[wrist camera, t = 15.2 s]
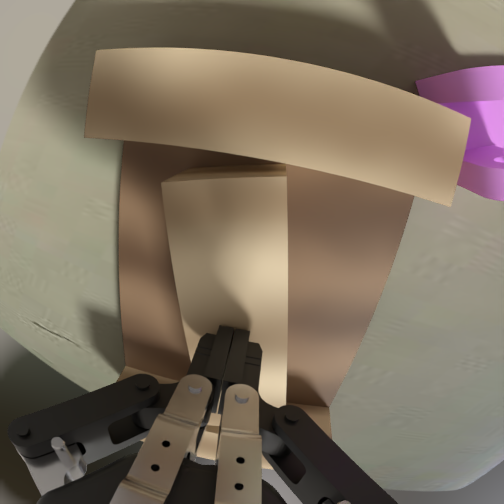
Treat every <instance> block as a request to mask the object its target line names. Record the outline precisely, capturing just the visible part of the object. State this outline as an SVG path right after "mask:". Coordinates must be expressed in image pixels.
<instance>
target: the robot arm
mask: <svg viewBox="0 0 504 504" xmlns="http://www.w3.org/2000/svg"><path fill="white" fill-rule="evenodd" d="M233 333H234V337H233ZM249 336H250V331H247V330H242V329H237V328H235V332H234V328H232V327H227V326H222V325H219V328H218V331H217V334H216V335H215V334H210V333H206V334H205V335H203V336H202V337H201V338H200V340H199V342H198V345H197V348H196V350H195V353H194V356H193V359H192V361H191V364H190V367H189V369H188V372H187V375H186V376H185V377H183V378H182V379H181V380H180V381H179V382H176V383H172V384H159V382H158V381H157V379H156V378H155V377H153V376H151V375H148V374H136V375H133V376H131V377H128V378H126V379H123V380H121V381H118V382H116V383H113V384H111V385H108V386H106V387H103V388H100V389H98V390H95V391H93V392H90V393H87V394H85V395H82V396H80V397H77V398H74V399H71V400H68V401H66V402H63V403H61V404H58V405H55V406H52V407H49V408H46V409H43V410H40V411H37V412H34V413H32V414H28V415H25V416H22V417H19V418H17V419H15V420H13V421H12V422H11V423H10V425H9V427H8V436H9V438H10V440H11V442H12V443H13V444H14V446H15V447H16V449H17V451H18V453H19V454H20V455H21V457H22V458H23V459H24V461H25V462H26V464H27V466H28V468H29V471H30V473H31V475H32V477H33V479H34V481H35V483H36V485H37V487H38V489H39V491H40V493H41V495H42V497H41V498H40V499H39V500H38V502H37V504H287V503H286V502H285V501H284V499H283V498H282V497H281V496H280V494H279V493H278V492H277V490H275V488H274V487H273V486H271V485H270V484H269V483H268V482H266V481H264V480H263V479H262V455H263V456H264V458H265V459H266V460H267V461H268V463H269V464H270V465H271V466H272V468H273V469H274V470H275V471H276V472H277V474H278V475H279V476H280V477H281V478H282V480H283V481H284V482H285V483H286V485H287V486H288V487H289V488H290V489H291V490H292V492H293V493H294V494H295V495H296V496H297V497H298V498H299V499H300V501H301V502H302V503H303V504H398V503H397V502H396V501H395V500H394V499H393V498H392V497H391V496H390V495H388V494H387V493H386V492H385V491H384V490H383V489H382V488H381V487H380V486H379V485H378V484H377V483H376V482H374V481H373V480H372V479H371V478H370V477H369V476H368V475H367V474H366V473H365V472H364V471H363V470H362V469H361V468H360V467H359V466H358V465H357V464H356V463H355V462H354V461H353V460H352V459H351V458H350V457H349V456H348V455H347V454H346V453H345V452H344V451H343V450H342V449H341V448H340V447H339V446H338V445H337V444H336V443H335V442H334V441H333V440H332V439H331V438H330V437H329V436H328V435H327V434H326V433H325V432H324V431H323V430H322V429H321V428H320V427H319V426H318V425H317V424H316V423H315V422H314V421H313V420H312V419H311V418H310V417H309V415H308V414H307V413H306V412H305V411H304V410H303V409H301V408H299V407H297V406H294V405H284V406H281V407H279V408H277V407H274V406H272V405H270V404H268V403H266V402H265V401H264V400H263V399H262V398H261V396H260V394H259V380H260V371H261V362H262V353H263V351H262V349H261V346H260V344H259V343H255V342H249ZM232 339H233V341H232ZM231 344H232V345H231ZM220 394H221V396H220ZM219 399H220V402H219ZM218 403H219V408H218V414H221V419H220V425H219V431H218V439H217V448H216V457H215V465H201V464H198V463H196V462H195V459H196V456H197V453H198V450H199V447H200V445H201V442H202V439H203V436H204V433H205V431H206V428H207V424H208V422H209V420H210V416H211V413H216V412H217V407H218ZM144 438H146V439H145V441H144V443H143V445H142V447H141V449H140V451H139V453H134V454H130V455H127V456H124V457H122V458H120V459H118V460H116V461H114V462H112V463H110V464H108V465H106V466H104V467H102V468H100V469H98V470H96V471H94V472H92V473H90V474H87V475H85V476H83V475H84V474H85V472H86V469H87V464H89V463H91V462H94V461H96V460H98V459H101V458H103V457H105V456H108V455H110V454H112V453H114V452H116V451H119V450H121V449H123V448H125V447H127V446H129V445H132V444H133V443H136V442H138V441H140V440H142V439H144ZM82 476H83V477H82Z"/></svg>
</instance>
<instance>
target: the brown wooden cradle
mask: <svg viewBox="0 0 504 504" xmlns="http://www.w3.org/2000/svg"><path fill="white" fill-rule="evenodd" d="M470 123H471V118H469V117H467V116H465V115H462V114H460V113H458V112H456V111H454V110H451V109H449V108H447V107H445V106H442V105H440V104H437V103H435V102H433V101H430V100H428V99H425V98H423V97H420V96H417V95H415V94H412V93H409V92H407V91H404V90H401V89H398V88H395V87H392V86H389V85H386V84H383V83H380V82H377V81H374V80H371V79H367V78H364V77H360V76H357V75H353V74H350V73H346V72H342V71H338V70H334V69H330V68H326V67H322V66H317V65H313V64H308V63H303V62H298V61H293V60H288V59H282V58H276V57H270V56H264V55H257V54H249V53H241V52H232V51H222V50H209V49H194V48H120V49H105V50H96V54H95V59H94V65H93V71H92V77H91V83H90V90H89V97H88V105H87V113H86V123H85V134H84V138H100V139H114V140H124V144H123V155H122V168H121V183H120V203H119V286H120V307H121V322H122V334H123V345H124V355H125V364H126V366H125V368H124V370H123V371H122V373H121V375H120V376H119V378H118V380H117V382H118V381H121V380H123V379H126V378H128V377H131V376H133V375H136V374H148V375H151V376H153V377H155V378H156V379H157V381H158V382H159V384H172V383H176V382H179V381H180V380H181V379H182V378H183V377H185V376H186V375H187V372H188V369H189V367H190V364H191V360H190V356H189V351H188V346H187V342H186V337H185V332H184V327H183V322H182V317H181V311H180V306H179V301H178V295H177V290H176V284H175V278H174V272H173V266H172V260H171V253H170V247H169V240H168V233H167V226H166V219H165V211H164V203H163V195H162V186H161V182H163V181H165V180H167V179H169V178H171V177H173V176H175V175H177V174H179V173H181V172H183V171H185V170H187V169H189V168H202V167H218V166H237V165H263V164H286V174H287V217H288V342H287V386H286V405H294V406H297V407H299V408H301V409H303V410H304V411H305V412H306V413H307V414H308V415H309V417H310V418H311V419H312V420H313V421H314V422H315V423H316V424H317V425H318V426H319V427H320V428H321V429H322V430H323V431H324V432H325V433H326V434H327V435H328V436H329V437H330V438H331V439H332V434H331V423H330V412H329V407H330V405H331V403H332V401H333V399H334V397H335V395H336V393H337V391H338V389H339V387H340V385H341V384H342V382H343V380H344V378H345V376H346V373H347V371H348V369H349V367H350V365H351V363H352V361H353V359H354V357H355V355H356V353H357V350H358V348H359V346H360V344H361V342H362V339H363V337H364V335H365V333H366V330H367V328H368V326H369V323H370V321H371V319H372V316H373V314H374V311H375V309H376V306H377V304H378V302H379V299H380V296H381V294H382V291H383V289H384V286H385V284H386V281H387V278H388V276H389V273H390V270H391V267H392V265H393V262H394V259H395V256H396V253H397V250H398V247H399V244H400V241H401V238H402V235H403V232H404V229H405V226H406V222H407V219H408V216H409V212H410V209H411V206H412V202H413V199H414V196H417V197H420V198H424V199H427V200H430V201H433V202H436V203H439V204H443V205H446V206H449V207H451V203H452V200H453V197H454V193H455V189H456V186H457V182H458V178H459V174H460V170H461V166H462V162H463V158H464V153H465V148H466V144H467V139H468V134H469V129H470ZM218 431H219V426H212V425H207V428H206V431H205V433H204V436H203V439H202V442H201V445H200V447H199V450H198V453H197V456H198V457H203V458H207V459H212V460H215V457H216V448H217V439H218ZM145 439H146V438H144V439H142V440H140V441H145ZM262 468H266V469H273V468H272V466H271V465H270V464H269V463H268V461H267V460H266V459H265V458H264V456H263V455H262Z"/></svg>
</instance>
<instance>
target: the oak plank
mask: <svg viewBox="0 0 504 504" xmlns="http://www.w3.org/2000/svg"><path fill="white" fill-rule="evenodd" d="M161 186H162V195H163V203H164V211H165V219H166V226H167V233H168V240H169V247H170V253H171V260H172V266H173V272H174V278H175V284H176V290H177V295H178V301H179V306H180V311H181V317H182V322H183V327H184V332H185V337H186V342H187V346H188V351H189V356H190V360H191V361H192V359H193V356H194V353H195V350H196V348H197V345H198V342H199V340H200V338H201V337H202V336H203V335H205V334H206V333H210V334H215V335H216V334H217V331H218V328H219V325H222V326H227V327H232V328H234V332H235V328H237V329H242V330H247V331H250V336H249V342H255V343H259V344H260V346H261V349H262V351H263V353H262V362H261V371H260V380H259V394H260V396H261V398H262V399H263V400H264V401H265V402H266V403H268V404H270V405H272V406H274V407H277V408H279V407H281V406H284V405H286V386H287V342H288V217H287V174H286V164H263V165H237V166H218V167H202V168H189V169H187V170H185V171H183V172H181V173H179V174H177V175H175V176H173V177H171V178H169V179H167V180H165V181H163V182H161ZM233 337H234V333H233ZM232 341H233V339H232ZM231 345H232V344H231ZM220 396H221V394H220ZM219 402H220V399H219ZM218 408H219V403H218V407H217V412H216V413H211V416H210V420H209V422H208V424H207V425H212V426H219V425H220V419H221V414H218Z"/></svg>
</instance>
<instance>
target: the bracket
mask: <svg viewBox="0 0 504 504" xmlns="http://www.w3.org/2000/svg"><path fill="white" fill-rule="evenodd" d="M415 82H416V86H417V89H418V93H419V96H420V97H423V98H425V99H428V100H430V101H433V102H435V103H437V104H440V105H442V106H445V107H447V108H449V109H451V110H454V111H456V112H458V113H460V114H462V115H465V116H467V117H469V118H471V123H470V129H469V134H468V139H467V144H466V148H465V153H464V158H463V162H462V166H461V170H460V174H459V178H458V182H457V185H459V186H461V187H463V188H466V189H468V190H470V191H472V192H474V193H476V194H478V195H480V196H483V197H485V198H489V199H493V200H499V201H504V65H499V66H484V67H475V68H468V69H462V70H457V71H453V72H449V73H445V74H441V75H437V76H433V77H429V78H425V79H421V80H417V81H415Z"/></svg>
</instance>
